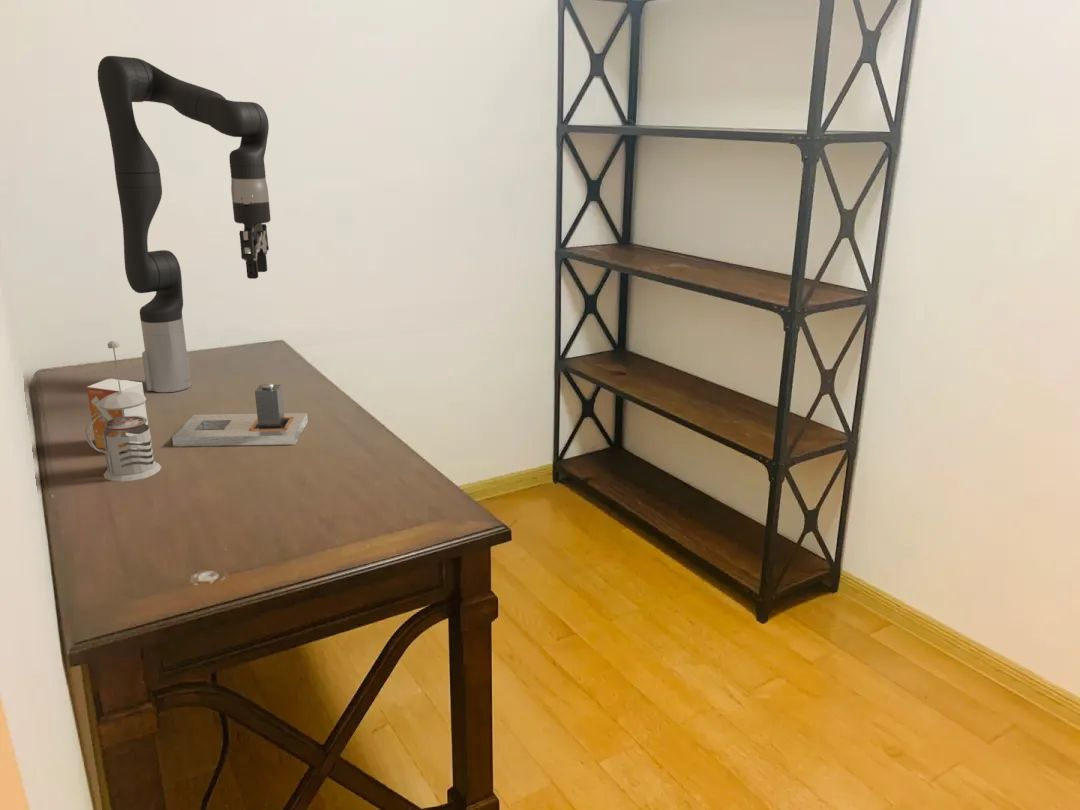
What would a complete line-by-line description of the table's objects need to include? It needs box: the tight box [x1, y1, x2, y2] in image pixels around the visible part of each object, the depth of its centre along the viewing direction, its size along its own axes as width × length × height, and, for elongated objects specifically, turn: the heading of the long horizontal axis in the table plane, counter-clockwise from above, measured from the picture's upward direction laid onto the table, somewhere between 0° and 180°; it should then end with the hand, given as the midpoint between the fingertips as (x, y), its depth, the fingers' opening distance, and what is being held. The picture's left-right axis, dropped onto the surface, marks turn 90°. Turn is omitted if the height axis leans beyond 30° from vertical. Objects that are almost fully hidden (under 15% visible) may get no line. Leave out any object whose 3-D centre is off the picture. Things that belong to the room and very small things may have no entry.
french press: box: [84, 340, 162, 482], centre depth 151 cm, size 10×12×25 cm
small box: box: [86, 378, 149, 453], centre depth 166 cm, size 8×6×13 cm
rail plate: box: [172, 412, 309, 448], centre depth 175 cm, size 24×14×2 cm, turn 95°
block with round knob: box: [254, 382, 285, 429], centre depth 174 cm, size 4×4×11 cm
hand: (257, 275), depth 185 cm, fingers open, 8 cm apart
